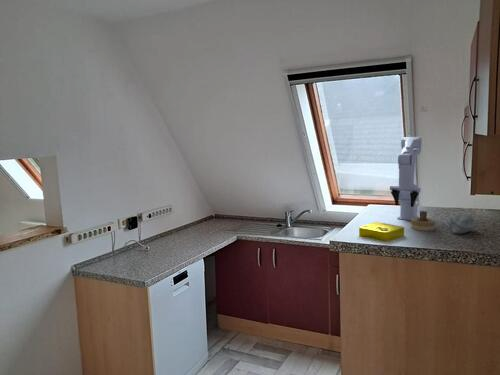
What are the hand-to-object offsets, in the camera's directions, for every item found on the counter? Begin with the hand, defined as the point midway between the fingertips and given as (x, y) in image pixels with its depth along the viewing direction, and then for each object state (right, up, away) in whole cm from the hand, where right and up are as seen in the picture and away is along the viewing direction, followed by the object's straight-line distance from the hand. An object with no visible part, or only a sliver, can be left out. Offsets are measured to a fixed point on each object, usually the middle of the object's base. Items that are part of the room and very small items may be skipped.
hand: (404, 205), depth 202 cm
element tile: (-17, -13, -18) cm, 28 cm away
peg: (+6, -10, -7) cm, 14 cm away
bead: (+6, -10, -7) cm, 14 cm away
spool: (+20, -11, -16) cm, 28 cm away
